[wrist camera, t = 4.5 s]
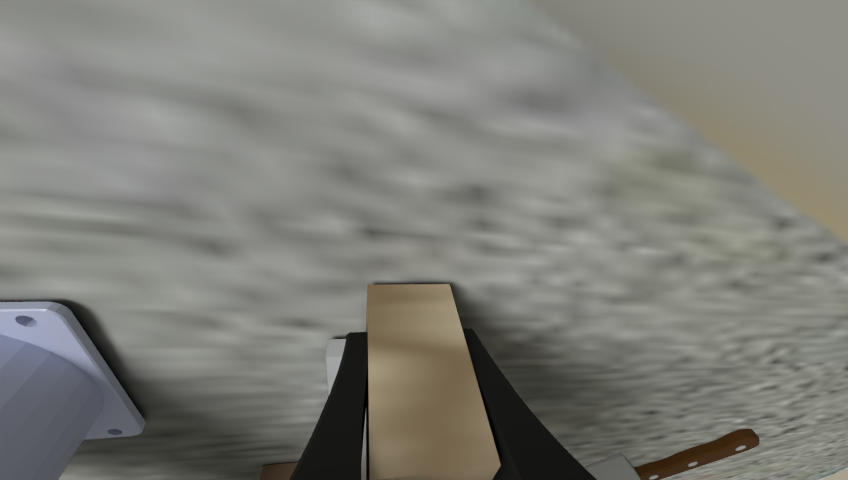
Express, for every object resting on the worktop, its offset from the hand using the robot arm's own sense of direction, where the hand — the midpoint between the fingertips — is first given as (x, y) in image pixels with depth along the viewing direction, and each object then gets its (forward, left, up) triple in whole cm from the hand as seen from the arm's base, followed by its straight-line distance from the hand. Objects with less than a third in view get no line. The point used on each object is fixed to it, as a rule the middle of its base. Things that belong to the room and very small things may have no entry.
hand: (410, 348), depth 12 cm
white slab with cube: (0, -7, -2) cm, 7 cm away
